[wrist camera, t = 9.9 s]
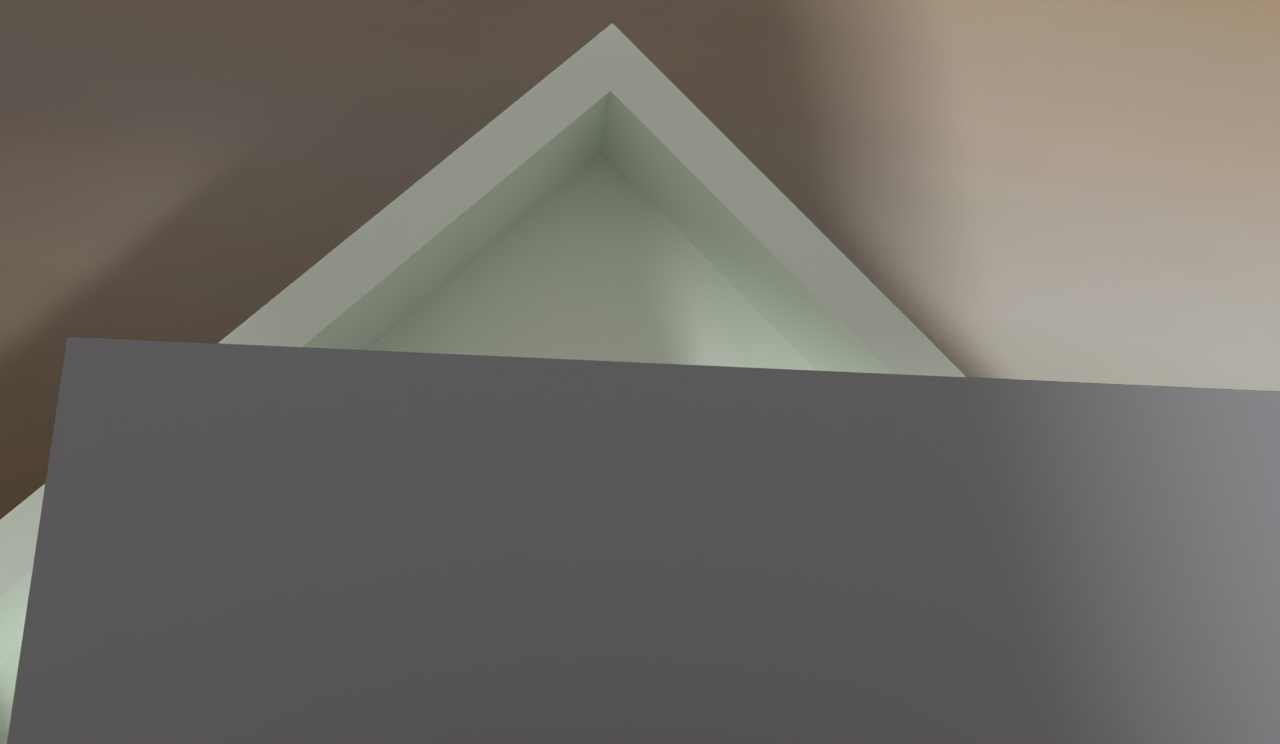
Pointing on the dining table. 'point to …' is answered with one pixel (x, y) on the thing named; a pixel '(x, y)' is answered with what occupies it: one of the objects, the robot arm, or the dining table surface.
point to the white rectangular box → (642, 555)
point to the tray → (572, 263)
